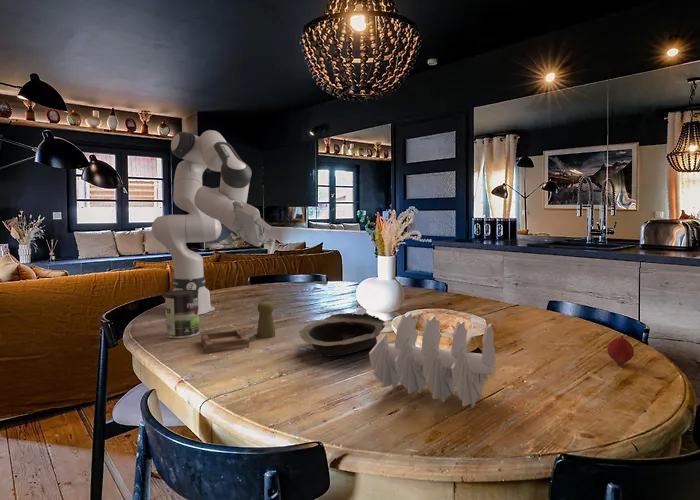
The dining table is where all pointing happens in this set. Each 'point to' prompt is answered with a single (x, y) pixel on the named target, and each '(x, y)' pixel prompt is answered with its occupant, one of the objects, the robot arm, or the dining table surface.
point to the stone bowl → (343, 333)
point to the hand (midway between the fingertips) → (271, 236)
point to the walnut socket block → (224, 341)
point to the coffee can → (182, 313)
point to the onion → (620, 350)
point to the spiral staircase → (434, 361)
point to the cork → (265, 320)
